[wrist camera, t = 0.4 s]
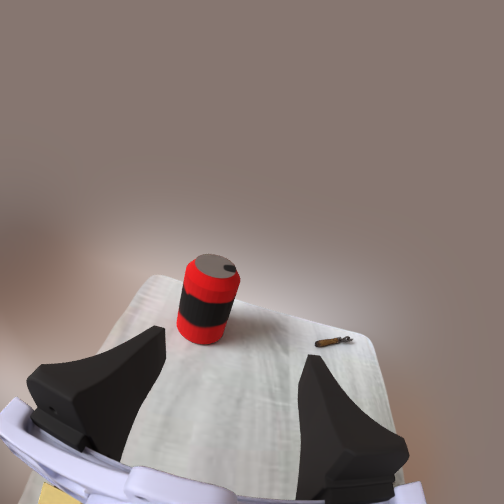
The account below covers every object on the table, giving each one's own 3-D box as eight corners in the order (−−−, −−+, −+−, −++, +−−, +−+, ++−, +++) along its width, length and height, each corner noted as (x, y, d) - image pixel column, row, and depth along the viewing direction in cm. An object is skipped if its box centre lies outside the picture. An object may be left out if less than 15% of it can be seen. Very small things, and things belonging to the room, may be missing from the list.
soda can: (224, 348, 40) (246, 287, 34) (174, 341, 38) (185, 276, 32) (222, 315, 46) (240, 256, 41) (178, 308, 44) (189, 246, 39)
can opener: (317, 348, 45) (318, 341, 45) (310, 344, 47) (311, 338, 47) (355, 341, 48) (356, 336, 48) (348, 339, 50) (348, 333, 50)
